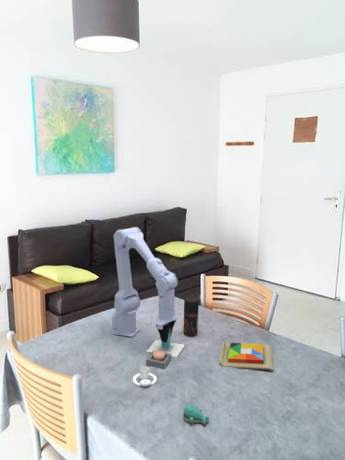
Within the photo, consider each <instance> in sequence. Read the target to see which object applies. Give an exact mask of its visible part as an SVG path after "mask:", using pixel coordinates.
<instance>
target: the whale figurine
mask: <svg viewBox="0 0 345 460" xmlns="http://www.w3.org/2000/svg"><path fill="white" fill-rule="evenodd" d="M183 419H184V420H185V421H186V422H188V423H190V424H193V423H195V422H197V424H199V422H200V423H202V425H206V424H207V422H209V420H210V417H209V416H208V415H204V414H203V413H202V410H201V409H200V408H198V407H197V406H196V405H194V404H188V405H186V407H184V409H183Z"/></svg>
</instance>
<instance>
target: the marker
mask: <svg viewBox="0 0 345 460" xmlns="http://www.w3.org/2000/svg"><path fill="white" fill-rule="evenodd" d="M170 331H171V328H170V330H169V334H168V340H167V342H161V346H162V347H164V348H168V347H170V342H171V337H170Z"/></svg>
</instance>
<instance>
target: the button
mask: <svg viewBox="0 0 345 460" xmlns="http://www.w3.org/2000/svg"><path fill="white" fill-rule="evenodd" d="M153 359H154V360H158V361H164V359H165V352H164V351H162V350H156V351H154V352H153Z"/></svg>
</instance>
